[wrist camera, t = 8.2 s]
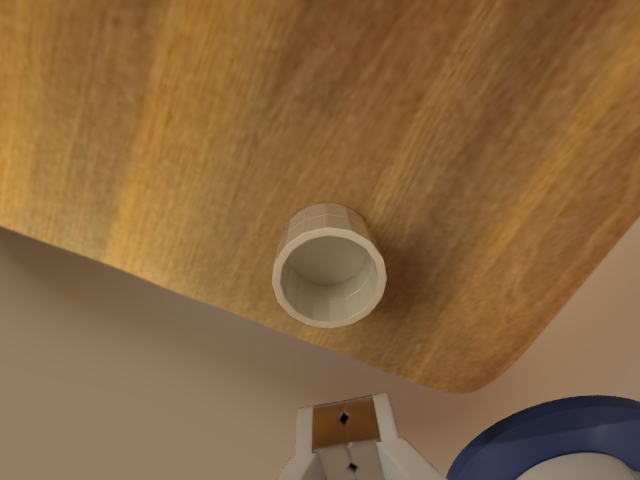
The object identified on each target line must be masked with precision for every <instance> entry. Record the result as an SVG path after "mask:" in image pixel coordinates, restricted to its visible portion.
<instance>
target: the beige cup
mask: <svg viewBox="0 0 640 480" xmlns="http://www.w3.org/2000/svg"><path fill="white" fill-rule="evenodd" d="M386 281H387V275H386V269H385V264H384V259H383V257H382V255H381V252H380V250H379V248H378V245H377V243H376V241H375V239H374V236H373V234H372V232H371V230H370V229H369V227H368V225H367V224H366V222H365V221H364V220H363V218H362V217H361V216H360V215H359V214H358V213H356V212H355V211H353V210H352V209H350V208H348V207H346V206H343V205H340V204H335V203H320V204H315V205H311V206H309V207H306V208H304V209H303V210H301V211H299V212H298V213H297V214H295V215H294V216H293V217H292V218H291V219H290V221H289V222H288V223H287V225H286V227H285V229H284V231H283V233H282V235H281V238H280V242H279V246H278V250H277V254H276V258H275V262H274V267H273V275H272V286H273V289H274V292H275V295H276V298H277V301H278V303H279V304H280V305H281V306H282V307H283V308H284V309H285V310H286V312H287V313H288V314H289V315H290V316H291V317H292V318H294V319H296V320H298V321H300V322H302V323H304V324H306V325H308V326H312V327H320V328H328V329H330V328H331V329H332V328H337V327H342V326H347V325H351V324H353V323H355V322H357V321H358V320H360V319H362V318H363V317H365V316H367V315H369V314H370V313H371V311H372V310H373V309H374V308H375V306H376V305H377V304H378V303H379V301H380V300H381V299H382V296H383V293H384V289H385V285H386Z"/></svg>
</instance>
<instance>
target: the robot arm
mask: <svg viewBox="0 0 640 480" xmlns="http://www.w3.org/2000/svg"><path fill="white" fill-rule="evenodd" d="M276 480H448V479H447V478H446V477H445V476H444V475H443V474H442V473H441V472H440V471H439V470H438V469H437V468H436V467H434V465H433V464H432V463H430V462H429V461H428V460H427V459H426V458H425V457H424V456H423V455H422V454H421V453H420V452H419V451H418V450H417V449H416V448H415V447H414V446H413V445H412V444H411V443H410V442H409V441H408V440H407V439H405V438H400V437H399V433H398V429H397V425H396V421H395V417H394V413H393V409H392V405H391V401H390V397H389V394H388V392H386V393H380V394H375V395H373V396H372V395H369V396H364V397H359V398H354V399H348V400H343V401H340V402H333V403H327V404H320V405H315V406H308V407H302V408H299V409H298V412H297V426H296V441H295V456H294V457H290V458H289V460H288V461H287V463H286V464H285V466H284V467H283V469H282V471H281V472H280V474H279V476H278V477H277V478H276ZM516 480H640V472H637V471H634V470H632V469H631V468H629V467H628V466H627V465H626V464H625V463H624V462H623V461H621V460H620V459H618V458H616V457H613V456H610V455H607V454H602V453H593V452H583V453H573V454H567V455H562V456H558V457H555V458H552V459H549V460H546V461H544V462H542V463H539V464H537V465H535V466H534V467H532V468H530V469H528V470H527V471H525V472H524V473H523V474H521V475H520V476H519V477H518V478H517V479H516Z"/></svg>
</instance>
